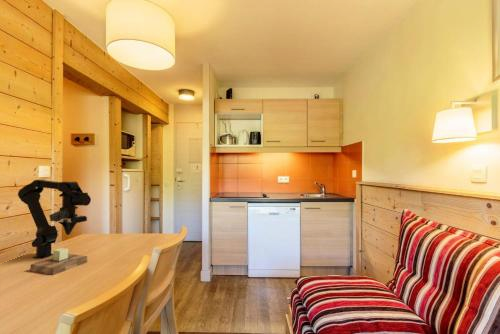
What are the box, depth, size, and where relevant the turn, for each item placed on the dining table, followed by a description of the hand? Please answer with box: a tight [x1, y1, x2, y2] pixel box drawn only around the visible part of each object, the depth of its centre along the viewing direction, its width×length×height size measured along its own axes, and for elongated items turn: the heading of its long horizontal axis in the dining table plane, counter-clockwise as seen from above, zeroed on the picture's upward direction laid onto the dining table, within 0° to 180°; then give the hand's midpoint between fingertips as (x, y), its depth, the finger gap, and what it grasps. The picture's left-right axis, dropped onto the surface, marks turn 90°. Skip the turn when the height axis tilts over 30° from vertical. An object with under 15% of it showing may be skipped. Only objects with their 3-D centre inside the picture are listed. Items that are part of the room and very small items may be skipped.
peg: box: [52, 247, 69, 263], centre depth 114 cm, size 4×4×8 cm
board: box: [30, 253, 88, 276], centre depth 113 cm, size 14×16×3 cm
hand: (67, 234), depth 126 cm, fingers closed
